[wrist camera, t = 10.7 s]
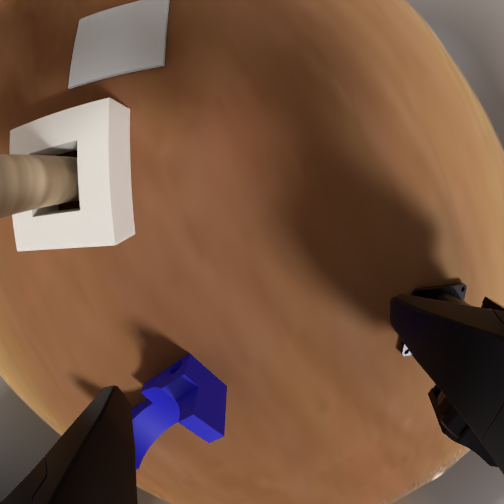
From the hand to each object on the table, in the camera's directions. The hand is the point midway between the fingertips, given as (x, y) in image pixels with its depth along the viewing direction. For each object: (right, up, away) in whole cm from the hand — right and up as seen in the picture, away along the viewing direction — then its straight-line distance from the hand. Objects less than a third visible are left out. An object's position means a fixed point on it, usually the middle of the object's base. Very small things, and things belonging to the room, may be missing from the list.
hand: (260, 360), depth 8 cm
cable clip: (-9, -10, +15) cm, 20 cm away
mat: (-11, +19, +7) cm, 23 cm away
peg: (-13, +9, +10) cm, 19 cm away
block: (-13, +9, +10) cm, 19 cm away
